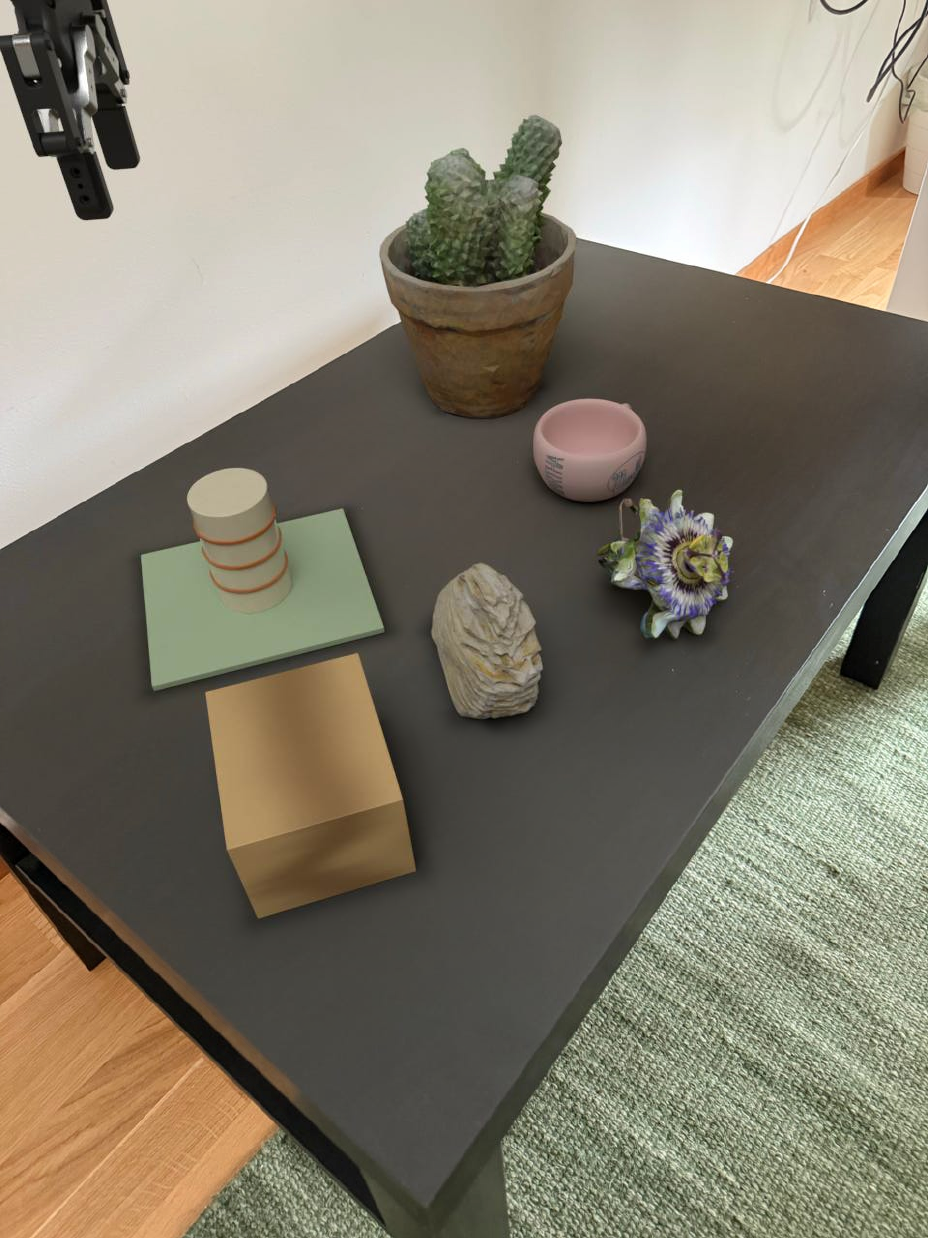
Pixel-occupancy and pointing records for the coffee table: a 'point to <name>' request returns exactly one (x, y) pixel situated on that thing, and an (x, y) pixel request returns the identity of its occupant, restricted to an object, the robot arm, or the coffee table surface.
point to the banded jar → (240, 539)
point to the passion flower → (671, 565)
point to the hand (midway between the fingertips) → (111, 191)
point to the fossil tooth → (487, 644)
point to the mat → (228, 641)
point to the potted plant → (483, 276)
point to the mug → (589, 448)
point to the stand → (307, 786)
